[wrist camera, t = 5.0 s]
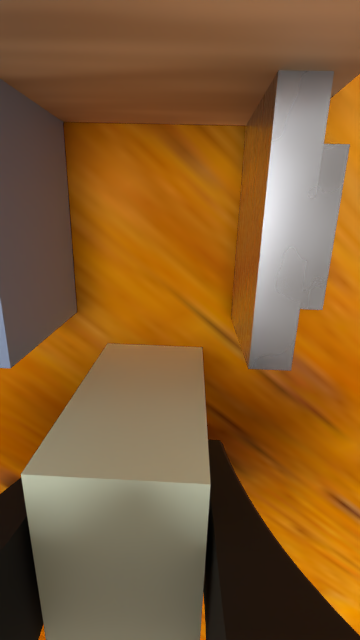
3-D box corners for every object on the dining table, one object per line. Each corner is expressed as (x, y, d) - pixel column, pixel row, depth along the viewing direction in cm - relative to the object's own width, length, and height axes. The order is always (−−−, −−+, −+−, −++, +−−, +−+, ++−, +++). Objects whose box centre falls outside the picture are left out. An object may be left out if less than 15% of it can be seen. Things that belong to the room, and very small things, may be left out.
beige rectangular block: (195, 477, 14) (196, 685, 8) (113, 472, 14) (50, 675, 8) (202, 346, 12) (210, 484, 6) (107, 342, 12) (20, 474, 6)
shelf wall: (297, 126, 10) (516, -58, 3) (-98, 118, 10) (-655, -60, 3) (304, 65, 9) (580, -303, 3) (-110, 60, 10) (-782, -275, 3)
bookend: (316, 321, 12) (376, 373, 8) (230, 317, 12) (248, 368, 8) (348, 127, 10) (447, 73, 6) (245, 125, 10) (278, 70, 6)
